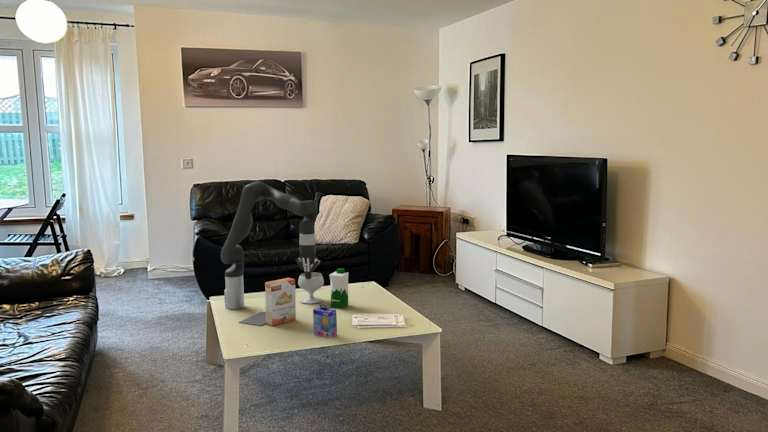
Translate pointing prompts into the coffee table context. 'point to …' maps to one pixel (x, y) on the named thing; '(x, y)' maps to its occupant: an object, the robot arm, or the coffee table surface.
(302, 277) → the chalice
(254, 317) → the mat
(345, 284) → the milk carton
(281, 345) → the coffee table surface
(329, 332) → the ink cartridge box
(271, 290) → the cracker box
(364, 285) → the coffee table surface
